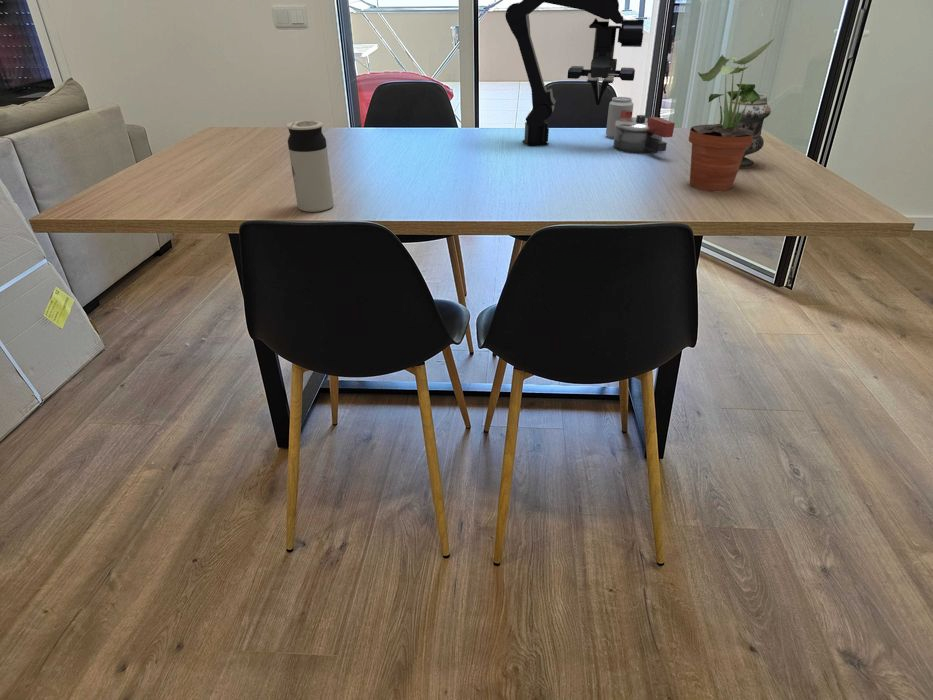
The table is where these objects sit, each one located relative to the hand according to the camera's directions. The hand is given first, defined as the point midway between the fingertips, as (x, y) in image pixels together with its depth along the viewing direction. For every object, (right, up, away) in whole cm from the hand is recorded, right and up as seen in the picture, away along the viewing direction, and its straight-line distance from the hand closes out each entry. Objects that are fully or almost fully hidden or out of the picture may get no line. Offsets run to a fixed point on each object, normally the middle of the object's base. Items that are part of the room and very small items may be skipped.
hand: (597, 105), depth 178 cm
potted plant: (+22, -31, -27) cm, 47 cm away
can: (+10, -4, +17) cm, 20 cm away
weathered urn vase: (+36, -21, -10) cm, 43 cm away
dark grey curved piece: (+13, -12, +3) cm, 18 cm away
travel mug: (-73, -41, -42) cm, 93 cm away
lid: (+14, -7, -1) cm, 15 cm away
